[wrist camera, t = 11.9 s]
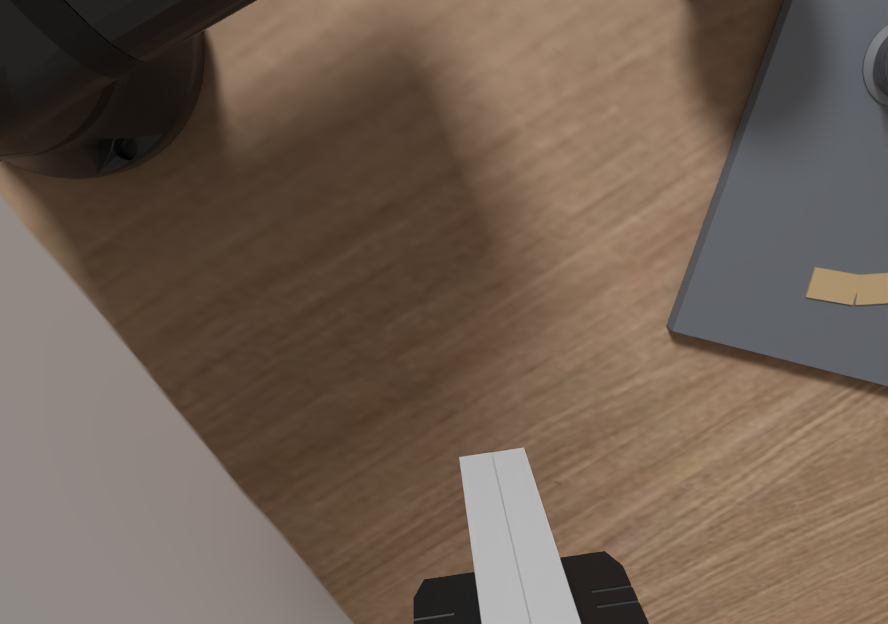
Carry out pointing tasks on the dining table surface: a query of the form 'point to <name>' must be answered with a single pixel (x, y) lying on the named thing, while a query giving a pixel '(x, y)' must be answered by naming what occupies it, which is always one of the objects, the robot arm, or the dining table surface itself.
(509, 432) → the dining table surface
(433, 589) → the robot arm
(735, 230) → the dial board
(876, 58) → the needle lever
